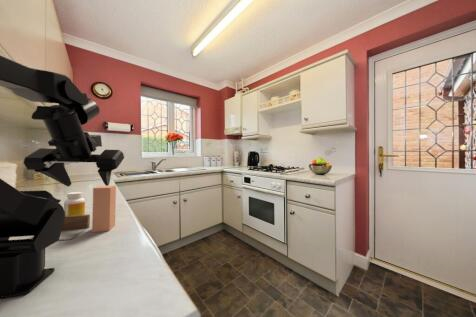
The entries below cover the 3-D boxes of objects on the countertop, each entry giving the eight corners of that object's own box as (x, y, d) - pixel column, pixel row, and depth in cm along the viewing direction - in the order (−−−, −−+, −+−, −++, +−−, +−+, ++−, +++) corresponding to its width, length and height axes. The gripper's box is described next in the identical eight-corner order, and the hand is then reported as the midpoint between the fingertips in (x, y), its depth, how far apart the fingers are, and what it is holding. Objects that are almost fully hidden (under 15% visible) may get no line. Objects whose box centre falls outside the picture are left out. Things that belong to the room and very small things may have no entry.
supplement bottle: (88, 218, 64) (89, 191, 64) (73, 223, 59) (74, 194, 59) (75, 217, 65) (75, 191, 65) (59, 223, 59) (59, 194, 59)
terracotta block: (109, 230, 53) (110, 187, 54) (92, 232, 52) (93, 188, 52) (115, 225, 58) (115, 185, 58) (99, 226, 56) (100, 186, 56)
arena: (71, 239, 47) (71, 224, 47) (26, 243, 45) (27, 227, 45) (89, 227, 56) (89, 214, 56) (53, 229, 53) (53, 216, 53)
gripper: (125, 122, 49) (135, 168, 57) (45, 118, 45) (68, 168, 53) (106, 139, 40) (122, 191, 48) (4, 136, 36) (39, 193, 44)
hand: (89, 185), depth 49 cm, fingers open, 9 cm apart
